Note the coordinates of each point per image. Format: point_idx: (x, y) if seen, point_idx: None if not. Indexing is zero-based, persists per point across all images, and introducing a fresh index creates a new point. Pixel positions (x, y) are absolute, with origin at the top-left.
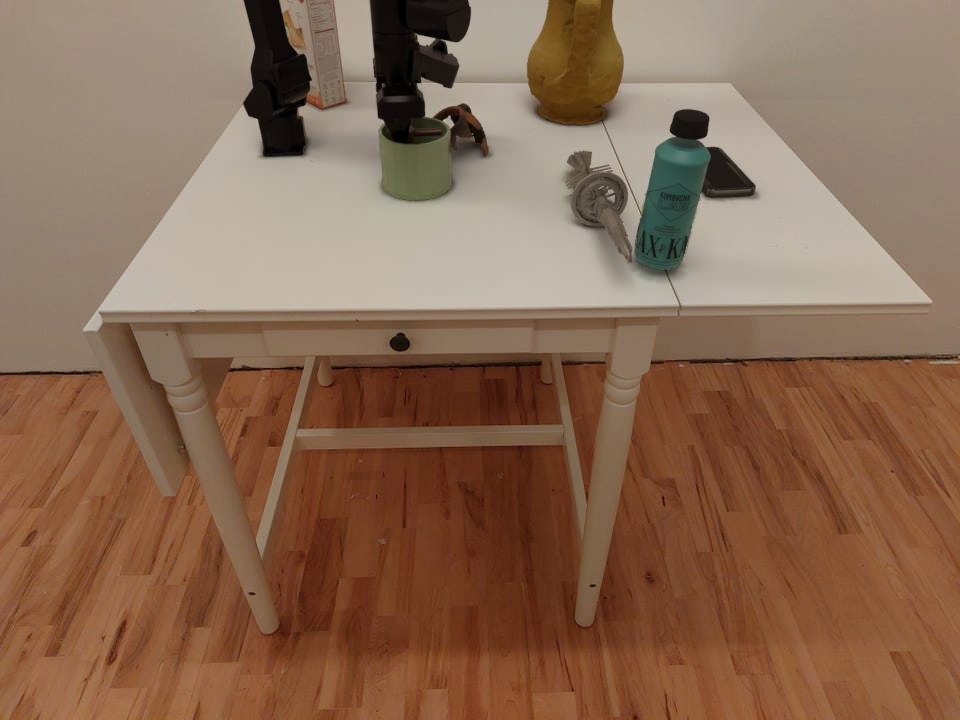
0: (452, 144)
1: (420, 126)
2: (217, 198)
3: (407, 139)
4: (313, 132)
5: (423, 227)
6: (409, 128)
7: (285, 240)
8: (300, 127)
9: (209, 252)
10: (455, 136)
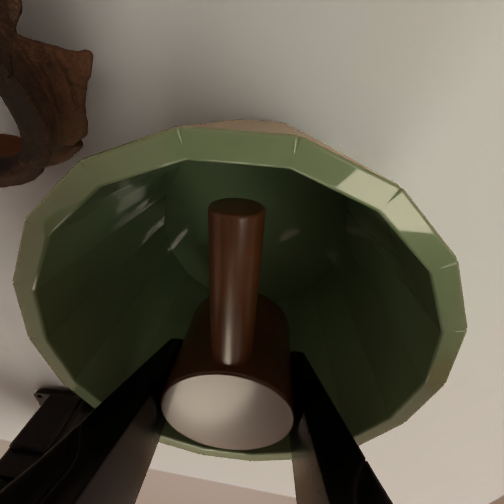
0: (74, 72)
1: (77, 272)
2: (244, 470)
3: (328, 395)
4: (4, 373)
5: (495, 251)
6: (372, 473)
7: (395, 435)
8: (53, 440)
9: (381, 483)
10: (23, 40)
